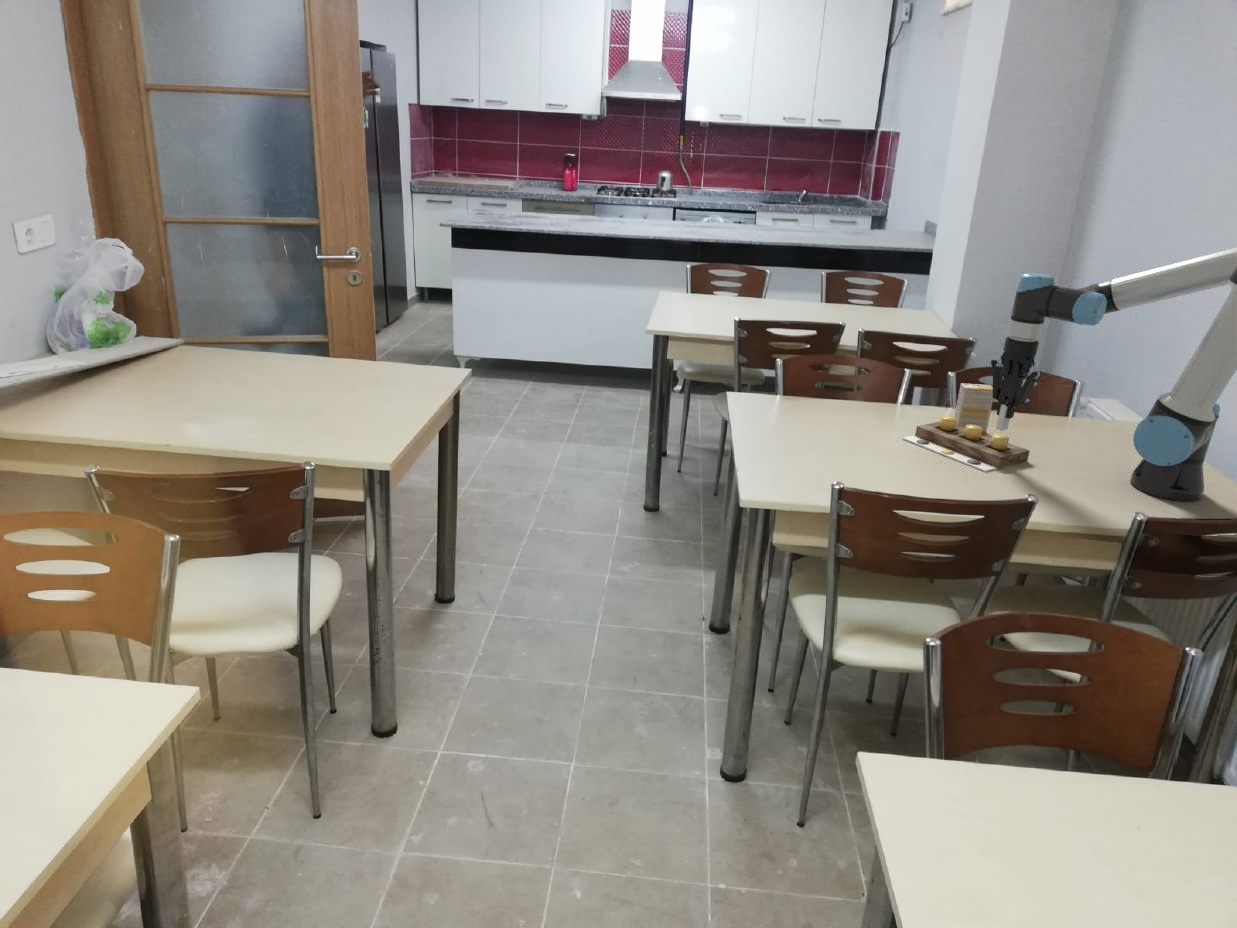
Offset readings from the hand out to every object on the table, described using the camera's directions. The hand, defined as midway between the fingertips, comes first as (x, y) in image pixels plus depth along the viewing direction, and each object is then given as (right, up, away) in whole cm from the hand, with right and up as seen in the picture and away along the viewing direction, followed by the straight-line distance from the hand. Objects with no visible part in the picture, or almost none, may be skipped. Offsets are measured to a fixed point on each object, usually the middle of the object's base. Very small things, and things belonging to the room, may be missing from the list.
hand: (1001, 428), depth 222 cm
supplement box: (+1, 0, +24) cm, 24 cm away
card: (-12, -6, +4) cm, 14 cm away
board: (-5, -5, +9) cm, 11 cm away
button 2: (0, -5, +2) cm, 5 cm away
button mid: (-4, -2, +8) cm, 9 cm away
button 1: (-9, +1, +14) cm, 17 cm away
